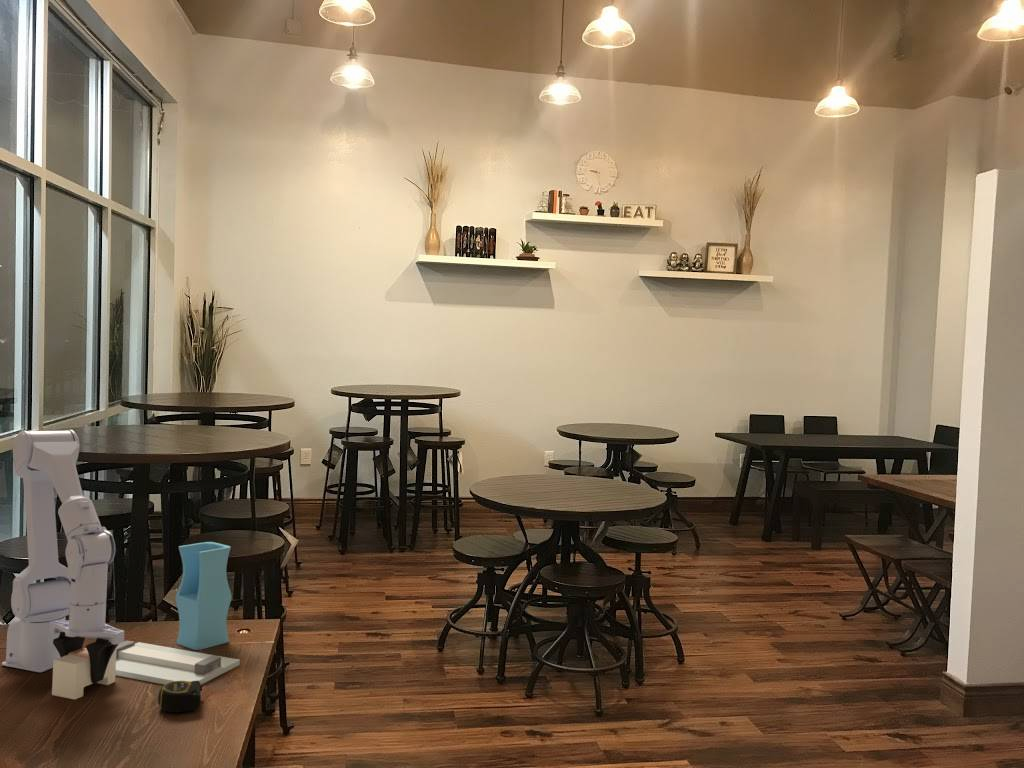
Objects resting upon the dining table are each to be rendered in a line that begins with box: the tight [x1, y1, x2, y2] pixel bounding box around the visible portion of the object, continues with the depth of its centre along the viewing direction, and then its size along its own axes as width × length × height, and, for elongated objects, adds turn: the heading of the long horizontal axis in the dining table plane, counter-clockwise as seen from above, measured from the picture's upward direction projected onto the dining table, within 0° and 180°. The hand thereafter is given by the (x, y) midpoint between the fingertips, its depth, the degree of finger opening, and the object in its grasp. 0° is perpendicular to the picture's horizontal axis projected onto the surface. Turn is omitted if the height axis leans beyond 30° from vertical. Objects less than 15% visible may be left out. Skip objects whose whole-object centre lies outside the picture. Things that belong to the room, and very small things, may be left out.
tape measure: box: [157, 681, 204, 713], centre depth 140 cm, size 7×7×4 cm
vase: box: [175, 541, 232, 651], centre depth 173 cm, size 8×8×20 cm
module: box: [51, 647, 116, 700], centre depth 146 cm, size 5×9×6 cm, turn 163°
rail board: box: [115, 640, 241, 686], centre depth 158 cm, size 24×14×3 cm, turn 73°
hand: (84, 678), depth 146 cm, fingers closed on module, 5 cm apart
